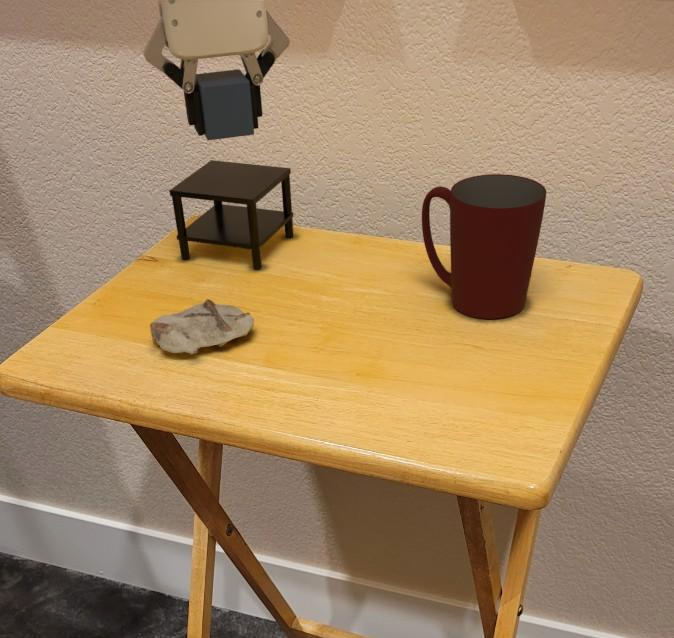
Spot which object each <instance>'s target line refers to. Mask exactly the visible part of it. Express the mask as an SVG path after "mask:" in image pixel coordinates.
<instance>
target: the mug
mask: <svg viewBox="0 0 674 638" xmlns="http://www.w3.org/2000/svg"><path fill="white" fill-rule="evenodd" d="M434 198H439V199H442V200H443V201H445V203H447V205H448V207H449V242H450V243H449V244H450V245H449V248H450V250H449V251H450V271H448V270H447V269H446V268H445V266H444V265H443V263H442V262H441V259H440V258H439V256H438V253H437V250H436V248H435V244H434V241H433V236H432V230H431V229H432V228H431V220H430V219H431V217H430V207H431V202H432V200H433V199H434ZM546 200H547V189H546V187H545V186H544V185H543V184H542V183H540V182H539V181H536V180H535V179H531V178H529V177H524V176H520V175H515V174H505V173H502V174H501V173H492V174H491V173H490V174H479V175H473V176H470V177H465V178H463V179H460V180H458V181H457V182H455V183H454V184H453V185H452V186H451V188H450V189H449V188H448V187H446V186H442V185H441V186H440V185H439V186H435V187H433V188H432V189H429V191H428V192H427V194H426V195H425V197H424V198H423V202H422V207H421V229H422V238H423V243H424V248H425V251H426V255H427V257H428V260H429V263H430V264H431V266H432V269H433V270H434V272H435V274H436V275H437V277H438V278H439V279H440V280H441V281H442V282H443V283H444V284H445V285H447V286H448V287H449V288H450V289H451V304H452V306H453V307H454V309H456V310H457V312H459V313H461V314H464V315H466V316H469V317H472V318H477V319H488V320H489V319H495V320H496V319H502V318H507V317H512V316H513V315H516V314H518V313H520V312H522V310H523V309H524V307H525V306H526V305H525V304H526V301H527V296H528V292H529V287H530V282H531V278H532V272H533V268H534V264H535V258H536V254H537V248H538V244H539V238H540V235H541V230H542V224H543V218H544V213H545V212H544V211H545V207H546V206H545V205H546Z"/></svg>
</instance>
